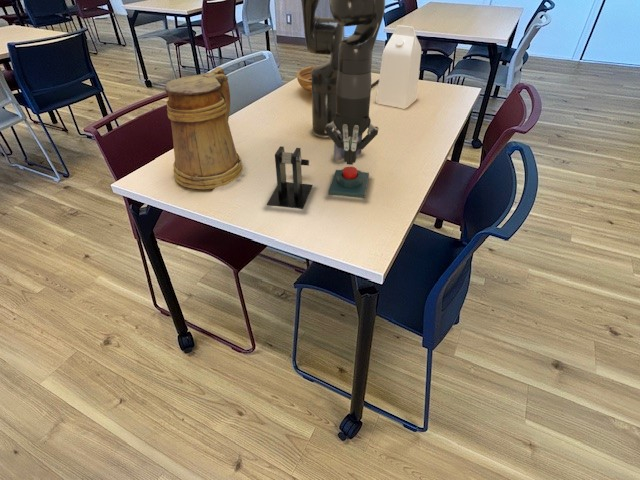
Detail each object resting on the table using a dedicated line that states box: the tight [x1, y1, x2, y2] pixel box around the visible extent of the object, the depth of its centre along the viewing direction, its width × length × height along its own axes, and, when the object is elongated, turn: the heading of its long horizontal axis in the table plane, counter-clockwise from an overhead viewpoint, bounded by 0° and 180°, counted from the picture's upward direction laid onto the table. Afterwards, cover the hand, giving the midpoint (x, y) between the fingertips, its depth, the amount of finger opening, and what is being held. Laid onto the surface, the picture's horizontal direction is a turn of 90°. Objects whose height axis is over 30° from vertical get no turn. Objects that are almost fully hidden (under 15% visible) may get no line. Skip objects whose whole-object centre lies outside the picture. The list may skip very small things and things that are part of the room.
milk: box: [375, 24, 422, 110], centre depth 140 cm, size 12×12×26 cm
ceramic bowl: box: [295, 64, 319, 94], centre depth 153 cm, size 30×24×8 cm
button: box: [343, 166, 358, 179], centre depth 96 cm, size 4×4×2 cm
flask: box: [333, 130, 363, 161], centre depth 108 cm, size 9×3×11 cm, turn 121°
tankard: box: [164, 66, 244, 190], centre depth 99 cm, size 18×24×25 cm
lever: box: [282, 151, 310, 167], centre depth 93 cm, size 12×6×2 cm
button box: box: [328, 168, 370, 199], centre depth 97 cm, size 11×9×4 cm
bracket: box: [266, 146, 314, 210], centre depth 91 cm, size 11×9×13 cm
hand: (349, 163), depth 94 cm, fingers closed
